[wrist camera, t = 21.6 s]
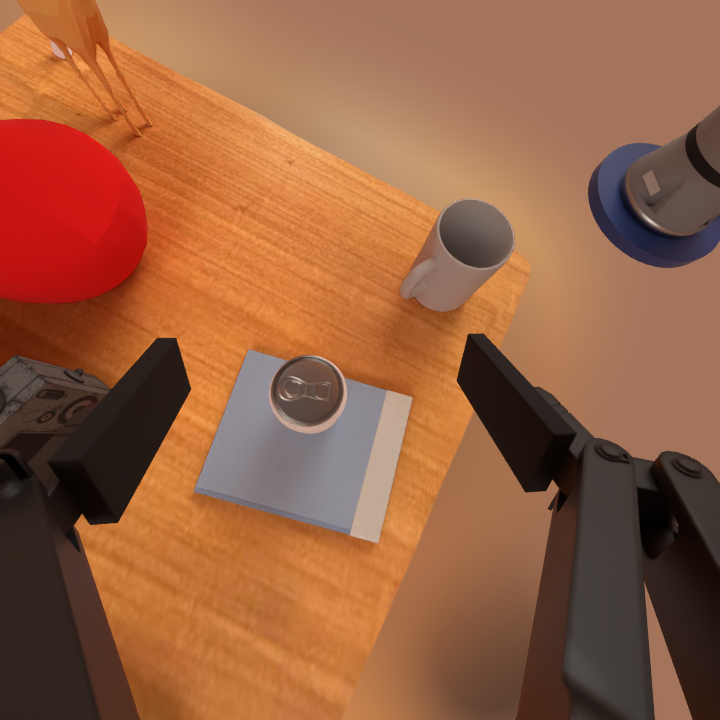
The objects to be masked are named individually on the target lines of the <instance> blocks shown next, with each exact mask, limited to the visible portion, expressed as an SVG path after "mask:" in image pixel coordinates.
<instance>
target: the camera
mask: <svg viewBox="0 0 720 720" xmlns="http://www.w3.org/2000/svg"><path fill="white" fill-rule="evenodd" d="M110 390H111V389H110V388H109V387H107V386H106V385H105V384H104V383H103V382H101V381H100V380H99V379H98V378H97V377H95V376H94V375H90V374H86V373H84V371H83V370H82V369H76V370H71V369H67V368H63V367H60V366H56V365H52V364H48V363H45V362H41V361H37V360H33V359H29V358H26V357H22V356H18V355H16V356H13V357H12V358H11V359H10V360H9V361H7V362H6V363H5V364H4V365H3V366H1V367H0V449H8V448H9V449H14V450H17V451H18V452H19V453H20V454H21V455H22V457H23V458H24V459H25V461H26V462H27V463H28V462H29V461H30V460H31V459H32V458H33V457H34V456H35V455H36V454H37V452H38V451H39V450H40V449H41V448H42V447H43V446H44V445H45V444H46V443H47V442H48V441H49V440H50V439H51V438H52V437H54V436H55V434H56V433H57V431H58V430H59V429H60V428H61V427H64V424H65V423H66V422H67V421H68V420H69V419H70V418H71V417H72V416H73V415H74V414H75V413H76V412H78V411H79V410H81V409H83V408H84V407H86V406H87V405H89V404H90V403H100V402H101V400H102V399H103V398H104V397H105V396H106V395H107V394H108V393H109V391H110Z"/></svg>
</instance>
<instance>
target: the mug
mask: <svg viewBox="0 0 720 720" xmlns="http://www.w3.org/2000/svg"><path fill="white" fill-rule="evenodd" d="M514 244H515V238H514V232H513V228H512V226H511V224H510V222H509V220H508V219H507V217H506V216H505V215H504V214H503V213H502V212H501V211H500V210H499V209H498V208H496V207H495V206H493V205H492V204H490V203H488V202H485V201H482V200H478V199H461V200H458V201H455V202H453V203H451V204H449V205H448V206H447V207H446V208H445V209H444V210H443V211H442V212H441V214H440V215H439V217H438V218H437V220H436V222H435V224H434V226H433V228H432V230H431V232H430V234H429V236H428V237H427V239H426V241H425V243H424V245H423V247H422V249H421V251H420V253H419V255H418V256H417V258H416V260H415V262H414V263H413V265H412V267H411V270H410V272H409V273H408V275H407V276H406V277H405V279H404V280H403V282H402V284H401V286H400V295H401V296H402V297H403V298H404V299H410V298H412V297H415V298H416V300H417V301H418V302H419V303H421V304H422V305H423V306H425V307H426V308H428V309H431V310H434V311H439V312H446V311H451V310H454V309H456V308H458V307H460V306H461V305H462V304H463V303H465V302H466V301H467V300H468V299H469V298H470V296H471V295H472V294H473V293H474V292H475V291H477V290H478V289H479V288H480V287H481V286H482V285H483V284H484V283H485V282H486V281H487V280H488V279H489V278H490V277H491V276H492V275H493V274H494V273H495V272H496V271H498V270H499V269H500V268H501V267H502V266H503V265H504V264H505V263H506V262H507V260H508V259H509V258H510V256H511V254H512V252H513V249H514Z"/></svg>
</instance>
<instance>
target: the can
mask: <svg viewBox="0 0 720 720" xmlns="http://www.w3.org/2000/svg"><path fill="white" fill-rule="evenodd" d="M269 401H270V405H271V408H272V411H273V413H274V414H275V416H276V417H277V419H278V420H279V421H280V422H281V423H282V424H284V425H285V426H286V427H288V428H290V429H292V430H294V431H297V432H301V433H308V434H314V433H320V432H322V431H325V430H327V429H328V428H330V427H331V426H332V425H333V424H334V423H335V422H336V421H337V419H338V418H339V417H340V415H341V414H342V412H343V410H344V408H345V405H346V401H347V385H346V382H345V379H344V377H343V375H342V373H341V371H340V370H339V369H338V368H337V367H336V366H335V365H334V364H333V363H332V362H330V361H329V360H327V359H325V358H322V357H319V356H315V355H303V356H298V357H295V358H293V359H291V360H289V361H287V362H286V363H284V364H283V365H282V366H281V367H280V368H279V369H278V370H277V372H276V373H275V375H274V376H273V378H272V381H271V384H270V388H269Z"/></svg>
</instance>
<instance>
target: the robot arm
mask: <svg viewBox="0 0 720 720" xmlns="http://www.w3.org/2000/svg"><path fill="white" fill-rule="evenodd" d="M620 194H621V198H622V201H623V204H624V206H625V208H626V210H627V211H628V213H629V214H630V216H631V217H632V218H633V219H634V220H635V221H636V222H637V223H638V224H639V225H640V226H641V227H642V228H644V229H645V230H647V231H648V232H650V233H652V234H654V235H656V236H659V237H661V238H665V239H671V240H679V239H685V238H688V237H690V236H692V235H694V234H696V233H697V232H699V231H701V230H703V229H704V228H706V227H707V226H708V225H709V224H710V223H711V222H712V221H713V220H714V219H715V218H716V217H717V216H718V215H720V106H719V107H718V108H717V109H715V110H714V111H713V112H712V113H710V114H709V115H708V116H707V117H706V118H704V119H703V120H702V121H701V122H700V123H698V124H697V125H696V126H695V127H694V128H692V129H691V130H690V131H689V132H688V133H686V134H685V135H683V136H681V137H679V138H677V139H675V140H673V141H672V142H670V143H668V144H666V145H664V146H662V147H661V148H659V149H657V150H655V151H653V152H650V153H648V154H646V155H644V156H642V157H641V158H639V159H638V160H637V161H636V162H634V163H633V164H632V165H631V166H630V167H629V168H628V169H627V170H626V171H625V172H624V174H623V176H622V178H621V181H620ZM457 382H458V384H459V386H460V387H461V389H462V391H463V392H464V394H465V395H466V397H467V399H468V400H469V402H470V403H471V405H472V407H473V408H474V410H475V412H476V413H477V415H478V416H479V418H480V420H481V421H482V423H483V424H484V426H485V428H486V429H487V431H488V433H489V434H490V436H491V437H492V439H493V441H494V442H495V444H496V445H497V447H498V449H499V450H500V452H501V454H502V455H503V457H504V458H505V460H506V462H507V463H508V465H509V466H510V468H511V470H512V471H513V473H514V475H515V476H516V478H517V479H518V481H519V483H520V484H521V486H522V488H523V489H524V491H525V492H539V491H546V490H547V488H548V486H549V485H550V483H551V481H552V479H553V481H554V482H555V483H556V485H557V486H558V488H559V490H558V492H557V493H556V495H555V497H554V499H553V500H552V502H551V504H550V506H549V507H548V509H549V510H552V509H553V512H552V519H551V524H550V530H549V535H548V541H547V547H546V553H545V559H544V565H543V570H542V576H541V581H540V587H539V593H538V599H537V605H536V610H535V616H534V622H533V627H532V634H531V639H530V645H529V650H528V656H527V662H526V667H525V673H524V679H523V685H522V690H521V696H520V702H519V708H518V713H517V717H516V720H655V717H654V704H653V692H652V678H651V665H650V653H649V640H648V628H647V616H646V615H647V614H646V602H645V589H644V582H645V584H646V587H647V590H648V593H649V596H650V599H651V602H652V605H653V608H654V610H655V613H656V616H657V619H658V621H659V624H660V627H661V630H662V633H663V636H664V639H665V642H666V645H667V647H668V650H669V653H670V656H671V659H672V662H673V665H674V667H675V670H676V673H677V676H678V679H679V682H680V685H681V687H682V690H683V693H684V696H685V699H686V702H687V705H688V707H689V710H690V713H691V716H692V719H693V720H720V483H719V482H718V481H717V479H716V478H715V476H714V475H713V474H712V473H711V471H710V470H709V469H708V468H707V467H705V466H704V465H702V464H701V463H700V462H698V461H697V460H695V459H693V458H691V457H689V456H687V455H684V454H681V453H678V452H671V451H665V452H662V453H661V454H660V455H659V457H658V458H657V459H656V460H655V461H650V460H644V459H639V458H634V457H632V456H631V455H630V454H629V453H628V452H627V451H626V450H624V449H623V448H622V447H620V446H619V445H617V444H615V443H613V442H611V441H608V440H604V439H600V438H594V437H593V436H592V435H591V434H590V433H589V432H588V431H587V430H586V429H585V428H584V427H583V426H582V425H581V424H580V423H579V421H577V420H576V419H575V418H574V416H573V415H571V413H568V410H567V409H566V408H565V407H564V406H562V405H561V403H560V402H559V401H558V400H557V399H556V398H555V397H554V396H553V395H552V394H550V393H549V392H547V391H545V390H543V389H542V388H540V387H533V386H532V385H531V384H530V383H529V382H528V381H527V380H526V378H525V377H524V376H523V375H522V374H521V373H520V372H519V371H518V370H517V369H516V368H515V367H514V366H513V365H512V364H511V362H510V361H509V360H508V359H507V358H506V357H505V356H504V355H503V354H502V353H501V352H500V351H499V350H498V349H497V347H496V346H495V345H494V344H493V343H492V342H491V341H490V340H489V339H488V338H487V337H486V336H485V335H484V334H468V336H467V341H466V345H465V349H464V353H463V357H462V361H461V365H460V369H459V373H458V377H457ZM190 391H191V387H190V384H189V380H188V377H187V373H186V370H185V367H184V363H183V360H182V356H181V353H180V350H179V346H178V343H177V339H176V338H157V339H156V340H155V341H154V342H153V343H152V344H151V346H150V347H149V348H148V349H147V350H146V351H145V352H144V353H143V355H142V356H141V357H140V358H139V359H138V360H137V361H136V362H135V364H134V365H133V366H132V367H131V368H130V369H129V370H128V371H127V372H126V374H125V375H124V376H123V377H122V378H121V379H120V380H119V381H118V383H117V384H116V385H115V386H114V387H113V388H112V389H111V390H110V391H109V393H108V394H107V395H106V396H105V397H104V398H103V399H102V400H101V402H100V403H90V404H89V405H87V406H86V407H84V408H83V409H81V410H79V411H78V412H76V413H75V414H74V415H73V416H72V417H71V418H70V419H69V420H68V421H67V422H66V423H65V424H64V427H61V428H60V429H59V430H58V431H57V433H56V434H55V436H54V437H52V438H51V439H50V440H49V441H48V442H47V443H46V444H45V445H44V446H43V447H42V448H41V449H40V450H39V451H38V452H37V454H36V455H35V456H34V457H33V458H32V459H31V460H30V461H29V462H28V463H27V462H26V461H25V459H24V458H23V457H22V455H21V454H20V453H19V452H18V451H17V450H14V449H9V448H8V449H0V720H140V718H139V715H138V712H137V709H136V706H135V703H134V700H133V697H132V694H131V690H130V687H129V684H128V681H127V678H126V675H125V672H124V669H123V666H122V663H121V660H120V657H119V654H118V651H117V648H116V645H115V642H114V639H113V636H112V633H111V630H110V627H109V624H108V621H107V618H106V615H105V611H104V608H103V605H102V602H101V599H100V596H99V593H98V590H97V587H96V584H95V581H94V578H93V575H92V572H91V569H90V566H89V563H88V560H87V557H86V554H85V551H84V548H83V545H82V542H81V539H80V536H79V532H78V531H77V529H76V528H75V527H74V525H75V523H76V522H77V520H78V519H79V517H80V516H81V514H83V515H84V517H85V518H86V519H87V521H88V522H89V524H90V525H96V524H109V523H118V522H119V520H120V518H121V516H122V515H123V513H124V511H125V509H126V507H127V505H128V504H129V502H130V500H131V498H132V496H133V494H134V493H135V491H136V489H137V487H138V485H139V484H140V482H141V480H142V478H143V476H144V474H145V473H146V471H147V469H148V467H149V465H150V464H151V462H152V460H153V458H154V456H155V454H156V453H157V451H158V449H159V447H160V445H161V443H162V442H163V440H164V438H165V436H166V434H167V433H168V431H169V429H170V427H171V425H172V423H173V422H174V420H175V418H176V416H177V414H178V412H179V411H180V409H181V407H182V405H183V403H184V402H185V400H186V398H187V396H188V394H189V392H190ZM677 524H678V526H677Z"/></svg>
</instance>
